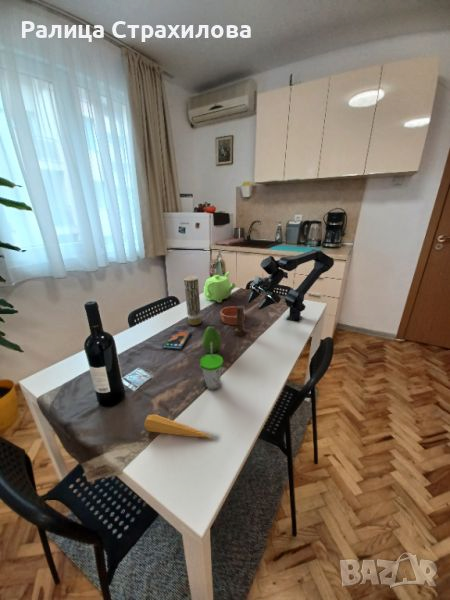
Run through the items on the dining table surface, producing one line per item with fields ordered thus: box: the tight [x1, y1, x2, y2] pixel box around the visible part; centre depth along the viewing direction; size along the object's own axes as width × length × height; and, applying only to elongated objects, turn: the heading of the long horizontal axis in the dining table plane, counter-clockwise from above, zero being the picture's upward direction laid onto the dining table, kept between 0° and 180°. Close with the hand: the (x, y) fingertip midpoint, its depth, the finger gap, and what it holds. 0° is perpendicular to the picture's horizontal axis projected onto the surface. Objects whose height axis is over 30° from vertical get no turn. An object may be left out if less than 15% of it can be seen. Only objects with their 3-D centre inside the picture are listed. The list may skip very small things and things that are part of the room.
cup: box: [199, 342, 224, 391], centre depth 80 cm, size 8×8×15 cm
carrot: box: [143, 414, 215, 439], centre depth 66 cm, size 20×4×4 cm, turn 78°
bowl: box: [220, 305, 246, 326], centre depth 127 cm, size 13×13×5 cm
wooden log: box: [183, 275, 202, 326], centre depth 121 cm, size 7×7×25 cm
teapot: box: [203, 271, 237, 303], centre depth 154 cm, size 25×22×16 cm
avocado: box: [201, 325, 222, 354], centre depth 100 cm, size 8×8×12 cm
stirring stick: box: [235, 305, 246, 337], centre depth 112 cm, size 4×4×14 cm
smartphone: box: [163, 329, 192, 350], centre depth 111 cm, size 8×1×15 cm
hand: (253, 305), depth 113 cm, fingers open, 9 cm apart
